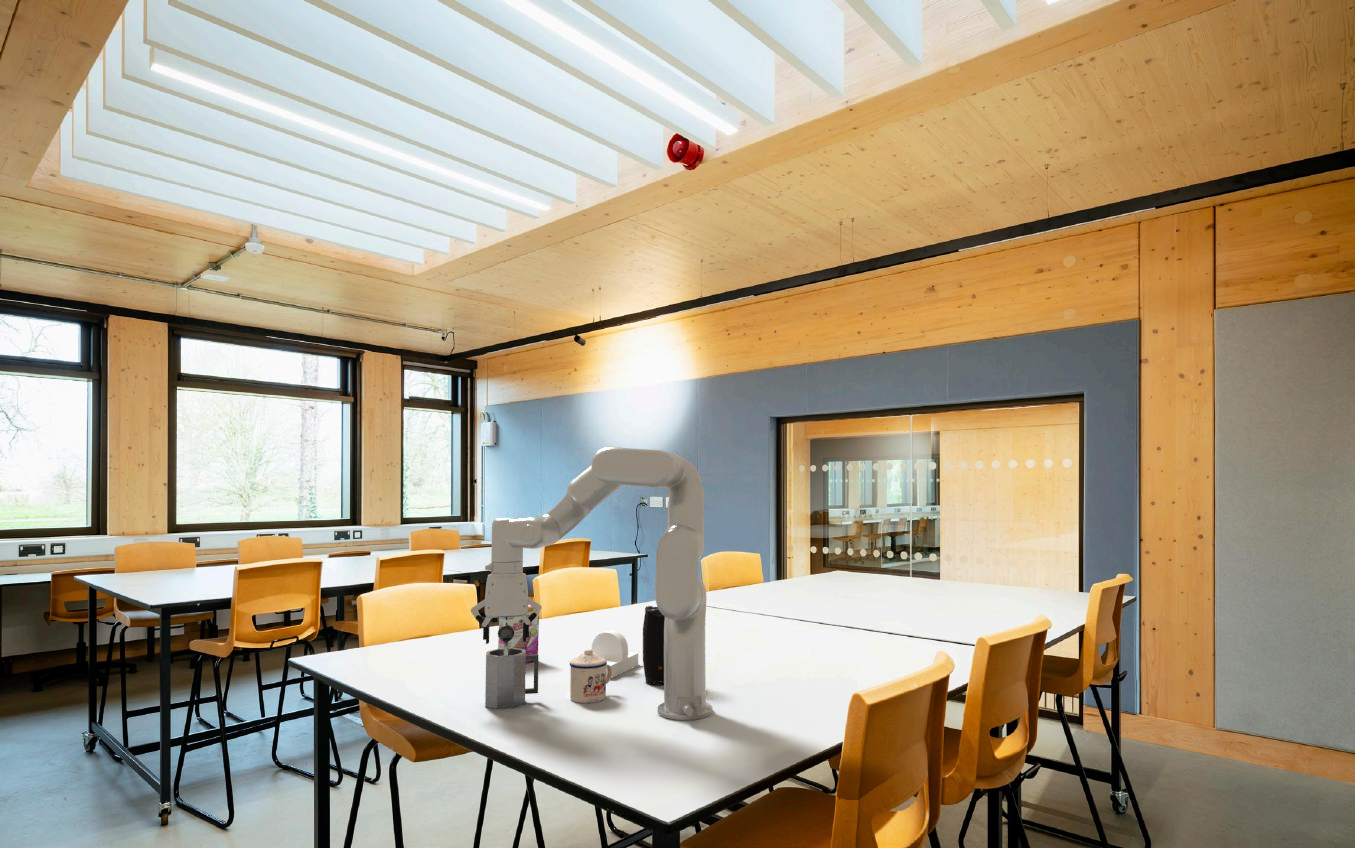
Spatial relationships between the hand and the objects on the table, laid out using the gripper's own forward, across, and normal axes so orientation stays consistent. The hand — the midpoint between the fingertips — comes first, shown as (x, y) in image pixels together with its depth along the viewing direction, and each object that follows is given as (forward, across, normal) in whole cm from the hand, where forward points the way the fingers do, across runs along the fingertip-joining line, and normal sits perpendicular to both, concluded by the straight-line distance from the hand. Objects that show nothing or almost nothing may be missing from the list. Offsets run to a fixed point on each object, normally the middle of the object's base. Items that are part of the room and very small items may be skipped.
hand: (506, 641), depth 180 cm
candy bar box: (+15, +4, +43) cm, 46 cm away
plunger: (+12, 0, 0) cm, 12 cm away
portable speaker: (+15, +40, +10) cm, 44 cm away
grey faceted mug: (+15, +2, 0) cm, 15 cm away
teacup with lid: (+15, +21, 0) cm, 26 cm away
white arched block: (+15, +29, +27) cm, 42 cm away
